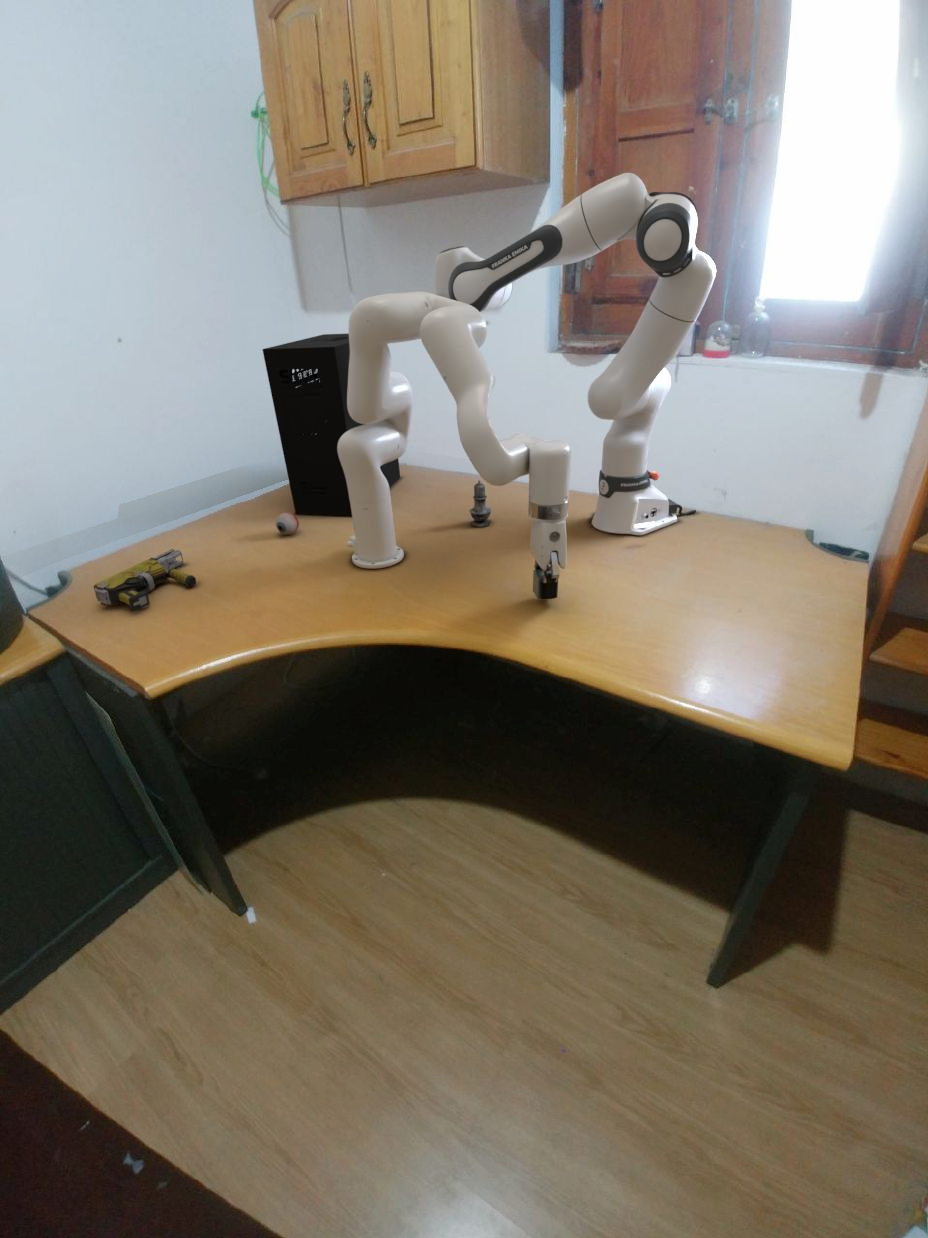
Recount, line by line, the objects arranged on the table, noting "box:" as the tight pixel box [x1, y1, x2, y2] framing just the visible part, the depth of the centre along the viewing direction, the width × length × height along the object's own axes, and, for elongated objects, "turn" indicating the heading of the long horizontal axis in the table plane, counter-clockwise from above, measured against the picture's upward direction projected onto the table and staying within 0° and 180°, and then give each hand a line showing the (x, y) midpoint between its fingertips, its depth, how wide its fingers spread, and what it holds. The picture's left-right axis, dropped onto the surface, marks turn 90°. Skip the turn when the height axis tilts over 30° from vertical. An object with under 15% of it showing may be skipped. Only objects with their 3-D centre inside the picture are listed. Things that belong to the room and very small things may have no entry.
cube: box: [532, 569, 559, 601], centre depth 123 cm, size 4×4×5 cm
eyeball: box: [275, 511, 300, 536], centre depth 163 cm, size 6×6×6 cm
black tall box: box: [262, 333, 401, 517], centre depth 181 cm, size 38×20×45 cm, turn 167°
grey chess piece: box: [469, 479, 492, 528], centre depth 162 cm, size 6×6×12 cm
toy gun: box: [93, 548, 197, 612], centre depth 139 cm, size 5×24×15 cm
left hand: (544, 592), depth 124 cm, fingers closed on cube, 4 cm apart
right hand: (459, 386), depth 152 cm, fingers open, 8 cm apart
